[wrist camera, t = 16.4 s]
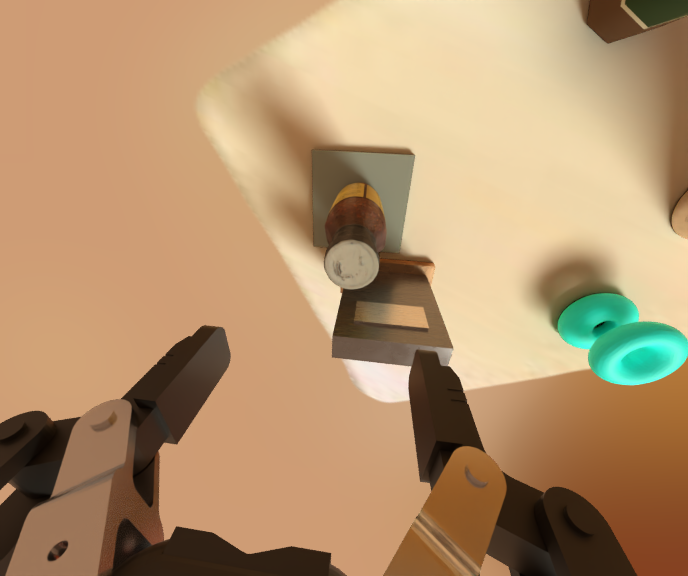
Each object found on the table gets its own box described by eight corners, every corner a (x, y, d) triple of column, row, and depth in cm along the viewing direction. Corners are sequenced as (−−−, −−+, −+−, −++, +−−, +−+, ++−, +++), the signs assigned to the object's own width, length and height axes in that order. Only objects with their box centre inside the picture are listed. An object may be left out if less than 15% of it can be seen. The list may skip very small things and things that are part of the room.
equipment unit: (433, 262, 39) (468, 338, 24) (425, 295, 42) (452, 381, 27) (343, 255, 40) (322, 322, 25) (341, 288, 43) (322, 366, 28)
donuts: (641, 398, 35) (580, 374, 34) (589, 348, 44) (539, 328, 43) (720, 349, 30) (650, 320, 29) (644, 303, 39) (588, 280, 38)
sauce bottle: (330, 218, 37) (290, 285, 20) (344, 173, 34) (311, 207, 16) (373, 234, 37) (370, 313, 20) (391, 191, 34) (405, 242, 17)
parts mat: (414, 154, 33) (415, 155, 32) (398, 250, 39) (399, 253, 38) (313, 149, 34) (311, 149, 33) (314, 243, 40) (313, 246, 39)
